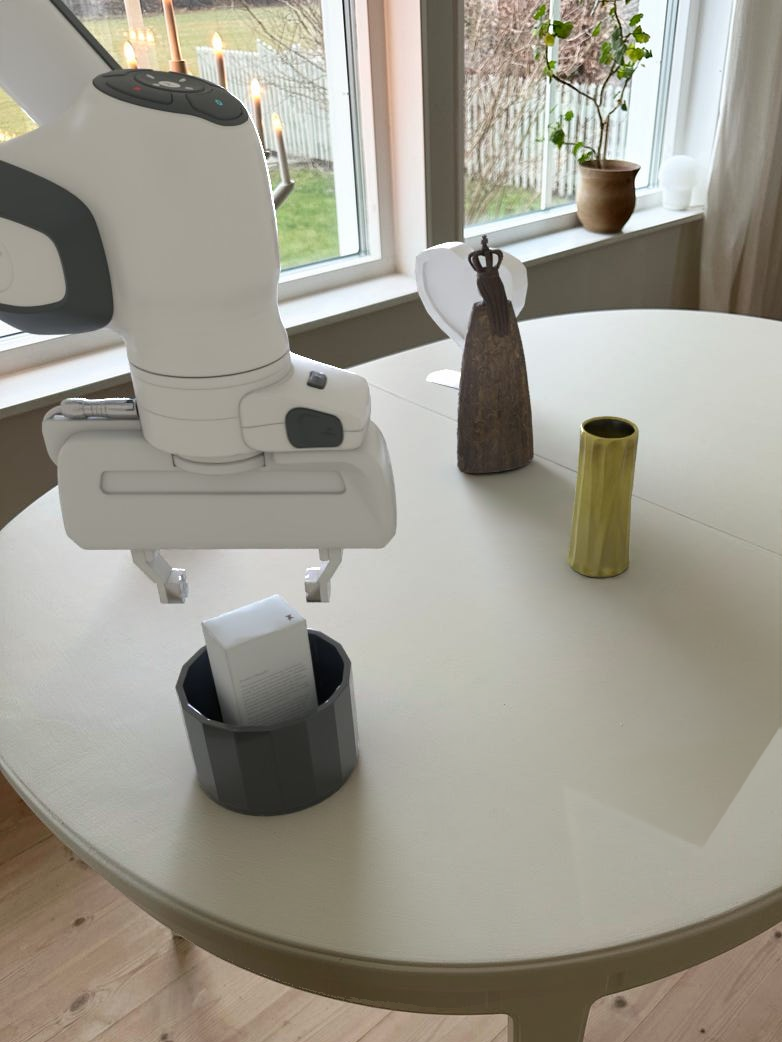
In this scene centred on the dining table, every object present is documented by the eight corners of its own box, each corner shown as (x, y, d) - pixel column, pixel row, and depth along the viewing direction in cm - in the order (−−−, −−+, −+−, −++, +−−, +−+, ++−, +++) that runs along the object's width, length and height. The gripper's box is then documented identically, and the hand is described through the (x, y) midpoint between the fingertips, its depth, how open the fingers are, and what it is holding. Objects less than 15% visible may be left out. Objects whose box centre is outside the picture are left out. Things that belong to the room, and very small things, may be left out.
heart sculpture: (415, 377, 135) (409, 243, 124) (436, 367, 138) (432, 235, 127) (507, 401, 128) (510, 261, 117) (527, 389, 131) (531, 252, 120)
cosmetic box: (298, 719, 74) (280, 591, 67) (325, 749, 72) (308, 619, 65) (226, 751, 71) (198, 620, 64) (251, 784, 69) (225, 650, 62)
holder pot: (181, 818, 67) (158, 733, 62) (213, 707, 76) (195, 626, 72) (353, 813, 67) (344, 728, 62) (363, 704, 77) (355, 622, 72)
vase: (614, 585, 91) (628, 446, 83) (556, 568, 94) (564, 432, 85) (638, 556, 95) (653, 421, 87) (582, 541, 98) (591, 409, 89)
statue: (485, 443, 117) (486, 226, 102) (540, 456, 114) (549, 235, 99) (448, 470, 111) (444, 244, 96) (505, 485, 108) (510, 254, 93)
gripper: (14, 421, 52) (73, 627, 60) (389, 421, 53) (398, 624, 61) (51, 378, 57) (101, 574, 65) (393, 379, 58) (400, 572, 66)
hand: (247, 598), depth 63 cm, fingers open, 8 cm apart
